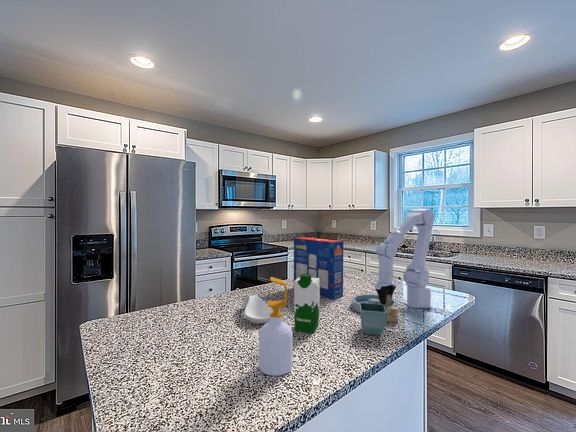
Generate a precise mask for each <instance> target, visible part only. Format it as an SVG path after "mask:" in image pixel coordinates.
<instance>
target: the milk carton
mask: <svg viewBox="0 0 576 432" xmlns="http://www.w3.org/2000/svg"><path fill="white" fill-rule="evenodd" d="M293 288H294V289H293V291H294V295H293V300H294V301H293V308H294V309H293V313H294V314H293V315H294V316H293V317H294V319H293V321H294V331H296V332H302V333H309V334H315V333H316V331H317V328H318V327H319V324H320V323H319V322H320V321H319V320H320V297H321V296H320V294H319V290H320V287H319V278H311V275H310V274H301V275H300V277H299V278H297V279H296V280H295V281H294V280H293Z"/></svg>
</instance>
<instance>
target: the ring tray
mask: <svg viewBox="0 0 576 432" xmlns="http://www.w3.org/2000/svg"><path fill="white" fill-rule="evenodd" d="M359 303H370V304H380V300H379V296H378V294H375V293H374V294H371V293H369V294H367V293H366V294H365V293H362V294H357V295H354V296H353V297H351V303H350V308H351V309H352V310H353V311H355V312H357V313H359V314H360V305H359ZM398 304H399V303H398V301H397V300H396V299H395V298H393V297H392V299H391V305H390V306H392V307H397V308H398V309H399V307H398ZM390 306H385V309H386V311H387V307H390ZM386 317H387V315H386Z"/></svg>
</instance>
